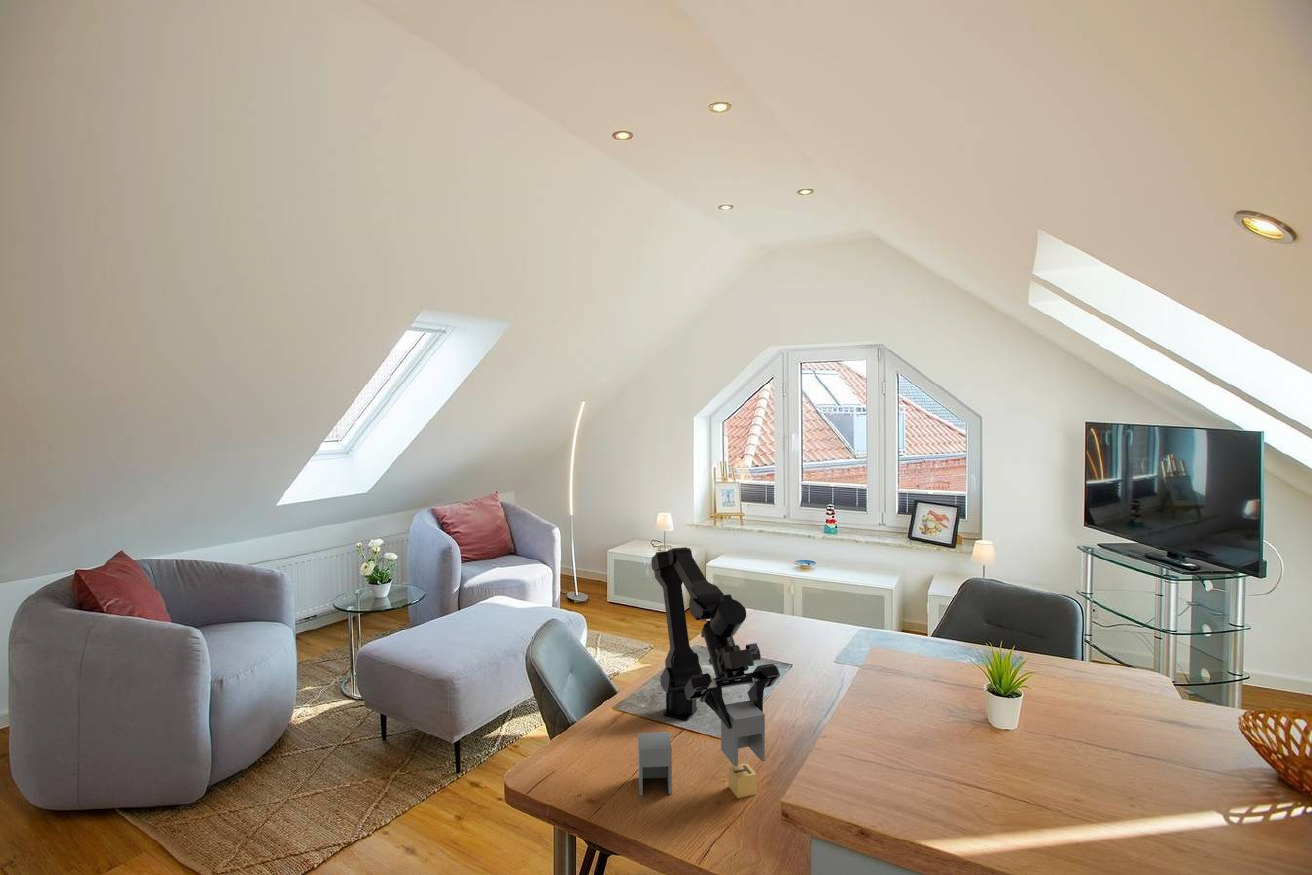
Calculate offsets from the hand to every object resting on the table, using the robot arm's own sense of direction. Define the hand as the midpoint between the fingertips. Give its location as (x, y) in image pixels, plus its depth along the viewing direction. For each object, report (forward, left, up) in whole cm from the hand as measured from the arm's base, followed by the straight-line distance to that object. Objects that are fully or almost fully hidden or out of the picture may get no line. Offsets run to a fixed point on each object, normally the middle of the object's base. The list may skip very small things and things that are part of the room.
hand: (745, 725), depth 123 cm
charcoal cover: (-1, +1, -7) cm, 7 cm away
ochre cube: (-1, +1, -14) cm, 14 cm away
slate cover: (-17, -5, -13) cm, 22 cm away
